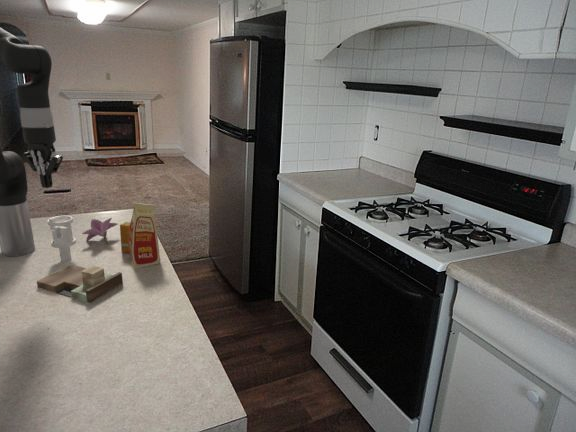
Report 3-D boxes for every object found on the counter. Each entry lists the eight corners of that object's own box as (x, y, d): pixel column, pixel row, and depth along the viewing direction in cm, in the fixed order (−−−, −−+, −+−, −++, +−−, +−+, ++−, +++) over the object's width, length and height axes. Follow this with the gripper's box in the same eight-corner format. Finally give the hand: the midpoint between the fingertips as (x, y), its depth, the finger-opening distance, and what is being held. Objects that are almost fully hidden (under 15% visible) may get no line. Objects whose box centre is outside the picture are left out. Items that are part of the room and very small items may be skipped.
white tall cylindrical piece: (48, 261, 136) (41, 217, 131) (67, 253, 142) (60, 210, 137) (65, 265, 133) (58, 220, 128) (83, 257, 139) (77, 214, 135)
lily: (125, 238, 159) (114, 215, 158) (121, 237, 147) (110, 212, 147) (92, 252, 155) (82, 227, 155) (86, 252, 144) (74, 226, 144)
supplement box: (130, 253, 143) (128, 225, 140) (121, 252, 144) (118, 224, 141) (135, 249, 146) (133, 222, 143) (126, 248, 147) (124, 221, 144)
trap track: (37, 287, 120) (35, 276, 118) (72, 270, 130) (71, 260, 129) (90, 302, 113) (88, 291, 112) (122, 283, 123) (121, 272, 122)
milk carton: (133, 268, 133) (128, 207, 127) (129, 256, 141) (124, 199, 135) (163, 263, 137) (159, 203, 131) (157, 252, 145) (153, 196, 139)
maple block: (83, 284, 118) (81, 271, 117) (94, 278, 122) (92, 265, 120) (94, 287, 117) (92, 274, 115) (105, 281, 120) (103, 268, 119)
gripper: (7, 124, 113) (18, 187, 118) (43, 128, 108) (52, 193, 114) (33, 121, 120) (42, 181, 125) (67, 125, 115) (75, 187, 120)
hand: (47, 187), depth 119 cm, fingers closed
